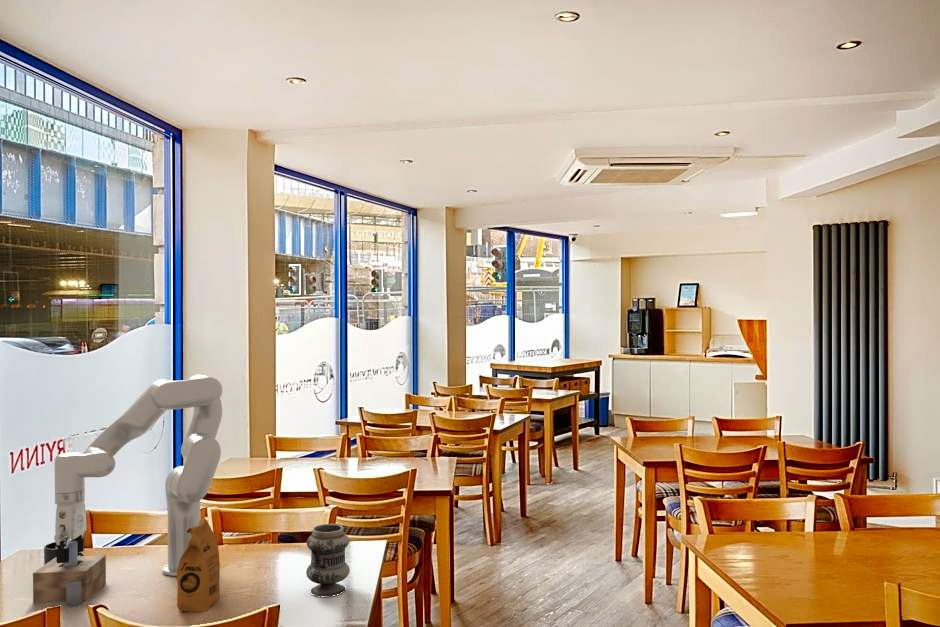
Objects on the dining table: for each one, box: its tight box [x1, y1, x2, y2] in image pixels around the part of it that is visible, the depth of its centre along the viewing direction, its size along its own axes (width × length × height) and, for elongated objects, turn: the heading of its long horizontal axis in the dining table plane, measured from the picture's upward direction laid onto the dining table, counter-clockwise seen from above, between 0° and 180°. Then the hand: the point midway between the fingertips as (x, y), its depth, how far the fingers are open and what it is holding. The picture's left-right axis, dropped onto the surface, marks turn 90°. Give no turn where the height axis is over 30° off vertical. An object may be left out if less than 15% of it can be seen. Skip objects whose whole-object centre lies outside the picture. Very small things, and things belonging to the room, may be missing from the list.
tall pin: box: [63, 541, 78, 567], centre depth 218 cm, size 4×4×14 cm
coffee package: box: [176, 517, 221, 613], centre depth 207 cm, size 10×12×22 cm
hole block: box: [32, 554, 107, 603], centre depth 218 cm, size 14×14×8 cm
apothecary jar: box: [306, 523, 351, 598], centre depth 216 cm, size 12×12×18 cm
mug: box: [43, 539, 85, 566], centre depth 233 cm, size 9×12×9 cm
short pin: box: [66, 580, 83, 608], centre depth 208 cm, size 4×4×6 cm
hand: (70, 557), depth 218 cm, fingers open, 9 cm apart
